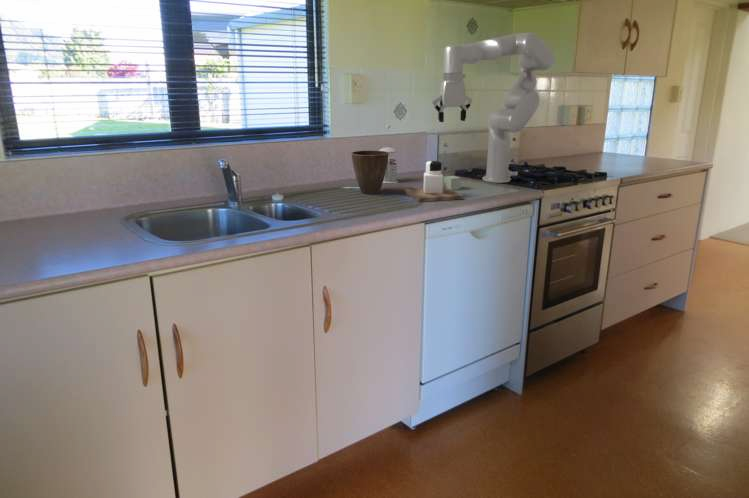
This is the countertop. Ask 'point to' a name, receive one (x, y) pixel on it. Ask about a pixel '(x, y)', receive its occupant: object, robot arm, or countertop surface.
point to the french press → (390, 166)
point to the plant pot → (370, 169)
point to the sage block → (452, 182)
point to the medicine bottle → (433, 178)
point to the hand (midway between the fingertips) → (452, 121)
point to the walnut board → (432, 195)
